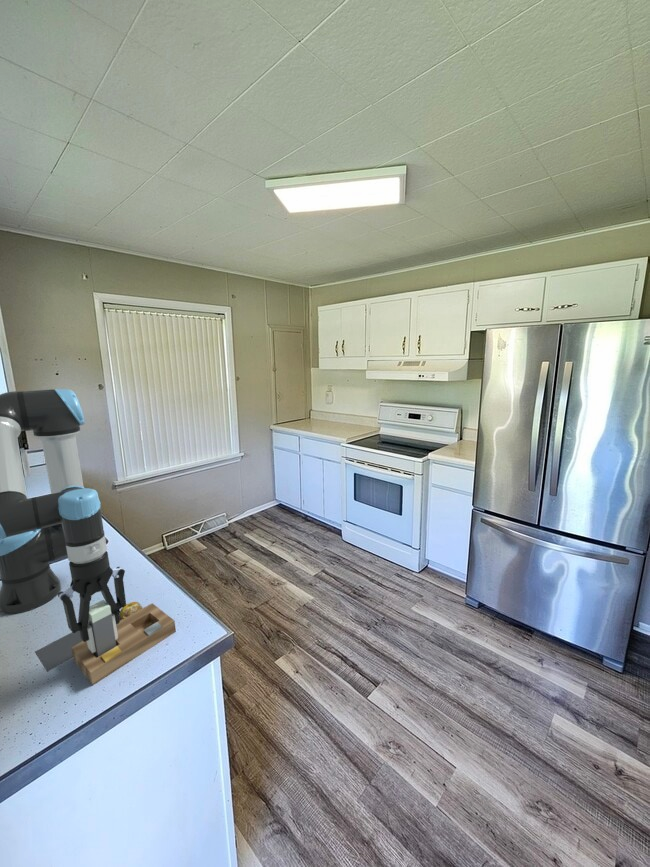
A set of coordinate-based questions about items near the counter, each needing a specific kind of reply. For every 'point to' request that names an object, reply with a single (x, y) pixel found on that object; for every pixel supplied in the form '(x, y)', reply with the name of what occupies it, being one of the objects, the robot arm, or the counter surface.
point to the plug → (102, 627)
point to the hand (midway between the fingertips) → (103, 642)
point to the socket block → (126, 643)
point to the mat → (58, 650)
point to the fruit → (130, 609)
